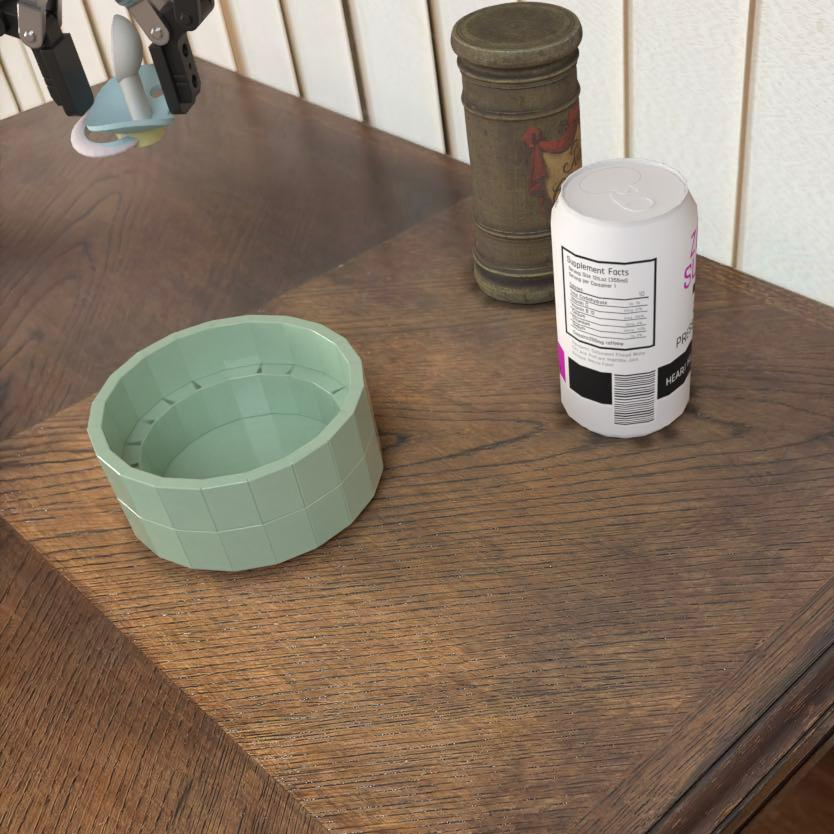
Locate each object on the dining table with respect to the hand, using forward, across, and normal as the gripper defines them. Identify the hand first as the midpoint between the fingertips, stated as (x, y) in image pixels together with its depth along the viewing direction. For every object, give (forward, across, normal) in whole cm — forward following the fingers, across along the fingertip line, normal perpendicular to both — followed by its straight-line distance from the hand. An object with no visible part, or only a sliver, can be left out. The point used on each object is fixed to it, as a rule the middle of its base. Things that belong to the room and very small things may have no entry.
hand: (131, 108), depth 58 cm
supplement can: (+20, -26, 0) cm, 33 cm away
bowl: (+20, -4, +8) cm, 22 cm away
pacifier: (+2, +1, 0) cm, 2 cm away
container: (+20, -19, -15) cm, 32 cm away
